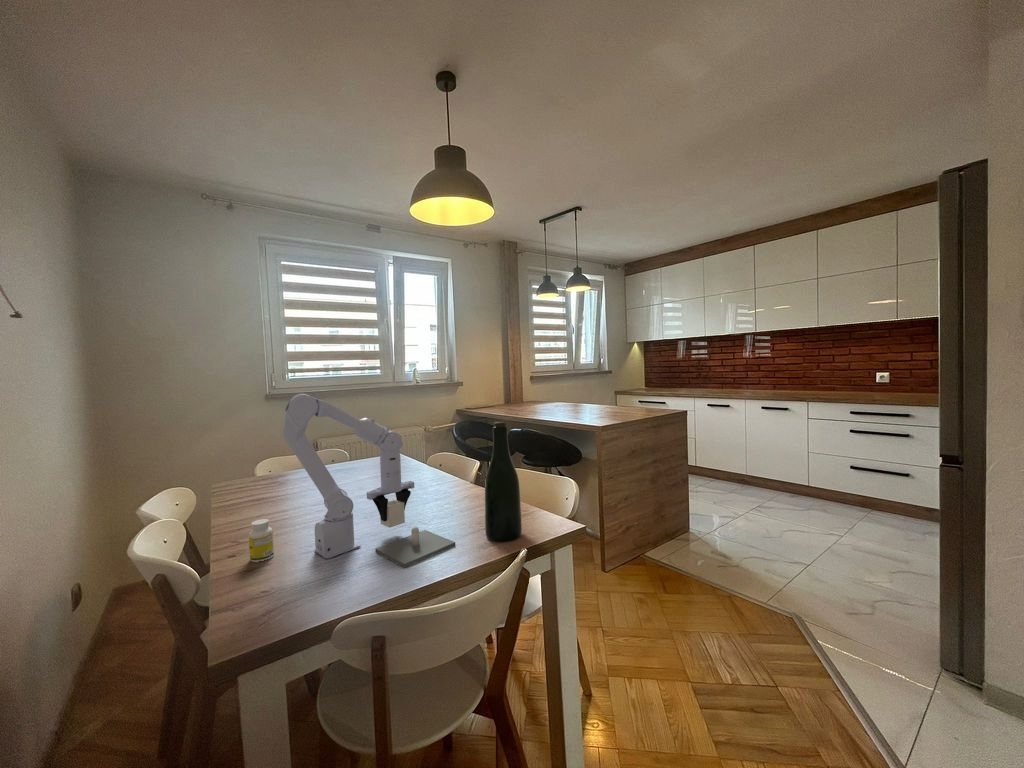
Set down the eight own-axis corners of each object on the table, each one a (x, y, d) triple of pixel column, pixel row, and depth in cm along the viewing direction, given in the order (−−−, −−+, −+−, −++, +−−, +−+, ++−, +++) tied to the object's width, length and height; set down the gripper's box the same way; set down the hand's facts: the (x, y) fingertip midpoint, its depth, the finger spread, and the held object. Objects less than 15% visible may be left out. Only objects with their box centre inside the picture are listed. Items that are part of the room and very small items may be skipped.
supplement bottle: (252, 555, 108) (251, 519, 108) (275, 552, 110) (274, 516, 110) (247, 564, 103) (245, 526, 103) (271, 560, 105) (269, 523, 105)
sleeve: (389, 527, 115) (388, 506, 115) (380, 523, 118) (379, 503, 118) (404, 522, 118) (404, 502, 118) (395, 518, 122) (394, 499, 122)
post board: (404, 567, 98) (403, 543, 98) (375, 552, 108) (374, 530, 107) (455, 545, 110) (454, 524, 110) (425, 533, 119) (424, 513, 119)
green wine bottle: (528, 538, 114) (525, 422, 113) (495, 546, 108) (491, 425, 107) (510, 526, 123) (507, 418, 122) (479, 534, 118) (475, 421, 117)
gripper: (374, 479, 110) (376, 528, 110) (419, 468, 120) (421, 513, 121) (362, 475, 115) (364, 522, 115) (406, 465, 125) (408, 508, 126)
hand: (392, 517), depth 118 cm, fingers closed on sleeve, 5 cm apart
